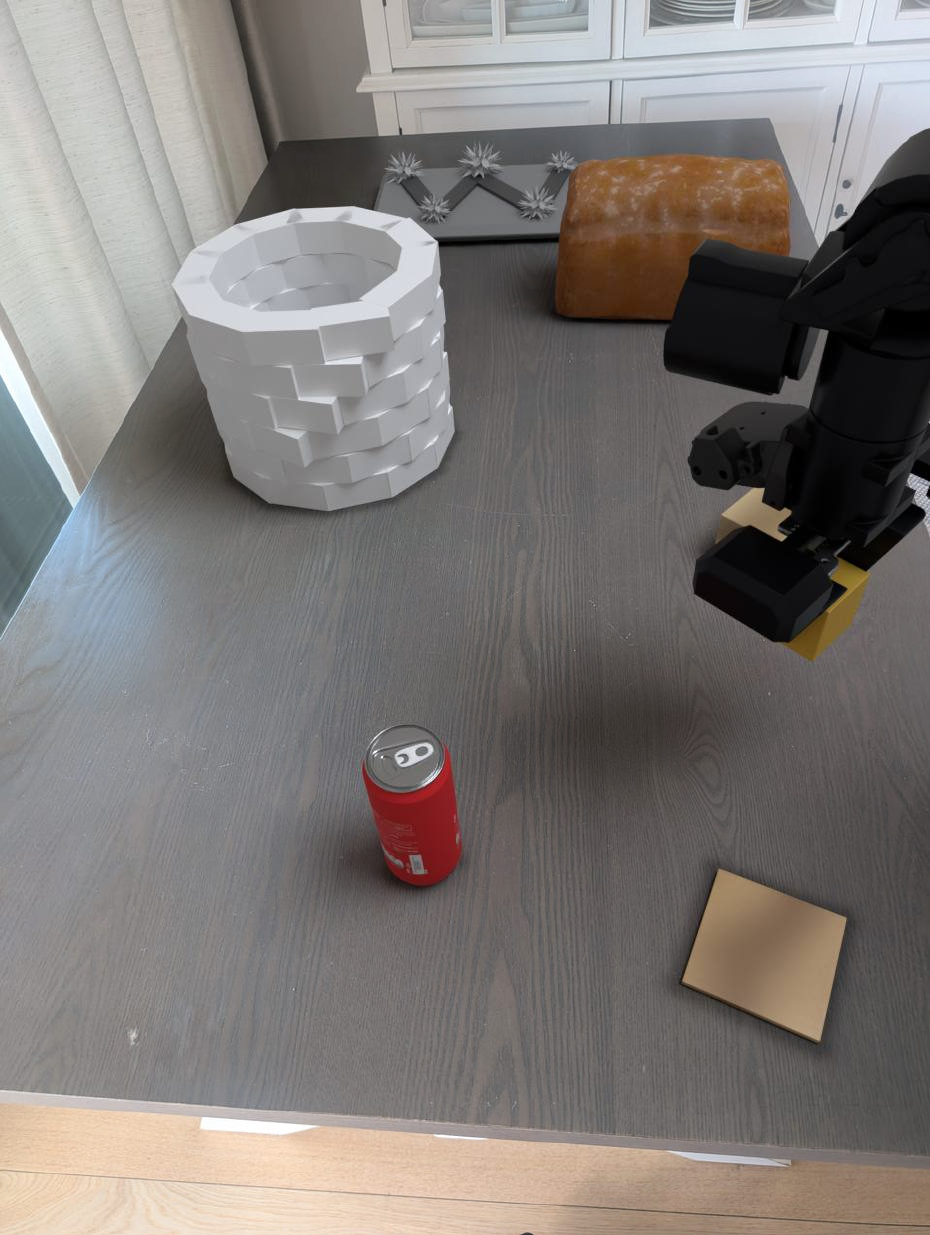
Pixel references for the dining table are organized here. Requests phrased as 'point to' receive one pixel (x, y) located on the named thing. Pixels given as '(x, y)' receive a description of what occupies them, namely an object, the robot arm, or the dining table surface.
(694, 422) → the dining table surface
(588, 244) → the bread
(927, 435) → the robot arm
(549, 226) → the decorative plate
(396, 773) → the beverage can
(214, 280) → the basket
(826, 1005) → the cork coaster
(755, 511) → the birch block
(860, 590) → the mustard cube
